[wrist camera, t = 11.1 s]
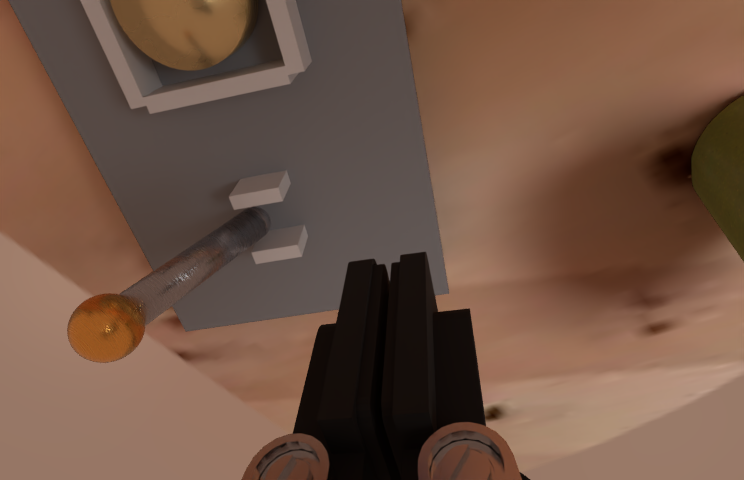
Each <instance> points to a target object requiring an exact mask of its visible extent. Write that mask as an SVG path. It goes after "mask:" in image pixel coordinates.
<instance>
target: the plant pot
mask: <svg viewBox="0 0 744 480" xmlns="http://www.w3.org/2000/svg"><path fill="white" fill-rule="evenodd" d="M691 163H692V184H693V187H694V190H695V191H696V193H697V194H698V196H699V197H700V199H701V200H702V202H703V203H704V205H705V206H706V208H707V209H708V211H709V212H710V214H711V215H712V217H713V218H714V220H715V221H716V222H717V224H718V225H719V227H720V228H721V230H722V231H723V232H724V234H725V235H726V237H727V238H728V240H729V241H730V242H731V244H732V245H733V247H734V248H735V250H736V251H737V253H738V254H739V256H740V257H741V259H742V260H743V261H744V95H743V96H741V97H740V98H738V99H737V100H735V101H734V102H732V103H731V104H730V105H728V106H727V107H726V108H725V109H724V110H722V111H721V112H720V113H719V114H718V115H717V116H716V117H715V118H714V119H713V120H712V121H711V122H710V123H709V125H708V126H707V127H706V128H705V130H704V132H703V133H702V135H701V136H700V138H699V140H698V141H697V143H696V146H695V148H694V151H693V154H692V158H691Z"/></svg>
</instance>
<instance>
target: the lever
mask: <svg viewBox="0 0 744 480" xmlns="http://www.w3.org/2000/svg"><path fill="white" fill-rule="evenodd" d="M270 228H271V218H270V216H269V214H268V213H267V212H266V211H265V210H264V209H262V208H259V207H250V208H247V209H245V210H244V211H242V212H241V213H239V214H238V215H236V216H235V217H233V218H232V219H230V220H229V221H227V222H226V223H224V224H223V225H221V226H220V227H218V228H217V229H215V230H214V231H212V232H211V233H209V234H208V235H206V236H205V237H204V238H202V239H201V240H199V241H198V242H196V243H195V244H193V245H192V246H190V247H189V248H187V249H186V250H184V251H183V252H181V253H180V254H178V255H177V256H175V257H174V258H172V259H171V260H169V261H168V262H166V263H165V264H163V265H162V266H160V267H159V268H157V269H156V270H154V271H153V272H151V273H150V274H148V275H147V276H145V277H144V278H143V279H141V280H140V281H138V282H137V283H135V284H134V285H132V286H131V287H129V288H128V289H126V290H125V291H123V292H122V293H120V294H111V293H109V294H100V295H97V296H94V297H91V298H89V299H88V300H86V301H84V302H83V303H82V304H81V305H79V306H78V307H77V308H76V310H75V311H74V312H73V314H72V315H71V318H70V320H69V323H68V329H67V331H68V339H69V342H70V344H71V346H72V348H73V349H74V350H75V351H76V352H77V353H78V354H79V355H80V356H82V357H83V358H85V359H87V360H90V361H93V362H100V363H106V362H112V361H116V360H119V359H122V358H124V357H126V356H127V355H129V354H130V353H131V352H132V351H133V350H134V349H135V348H136V347H137V346H138V345H139V343H140V342H141V340H142V338H143V335H144V331H145V326H146V325H147V324H148V323H150V322H151V321H152V320H154V319H155V318H156V317H158V316H159V315H160V314H162V313H163V312H164V311H166V310H167V309H168V308H170V307H171V306H172V305H174V304H175V303H176V302H178V301H179V300H180V299H182V298H183V297H184V296H186V295H187V294H188V293H190V292H191V291H192V290H194V289H195V288H196V287H198V286H199V285H200V284H202V283H203V282H204V281H206V280H207V279H208V278H210V277H211V276H212V275H214V274H215V273H216V272H218V271H219V270H220V269H222V268H223V267H224V266H226V265H227V264H228V263H230V262H231V261H232V260H234V259H235V258H236V257H238V256H239V255H240V254H242V253H243V252H244V251H246V250H247V249H248V248H250V247H251V246H252V245H254V244H255V243H256V242H257V241H259V240H260V239H261V238H263V237H264V236H265V235H266V234H267V233H268V232H269V230H270Z"/></svg>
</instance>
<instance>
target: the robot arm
mask: <svg viewBox="0 0 744 480" xmlns="http://www.w3.org/2000/svg"><path fill="white" fill-rule="evenodd" d="M242 480H530V479H528V478H527V477H526V476H524V475H523V474H522V473H521V472H519V469H518V467H517V464H516V461H515V458H514V455H513V453H512V451H511V449H510V448H509V446H508V444H507V442H506V441H505V440H504V439H503V438H502V437H501V436H500V435H499V434H498V433H497V432H496V431H494V430H492V429H490V428H488V427H486V422H485V415H484V407H483V400H482V393H481V385H480V378H479V371H478V363H477V356H476V349H475V342H474V335H473V328H472V321H471V314H470V309H461V310H452V311H443V312H438V309H437V304H436V299H435V294H434V289H433V283H432V278H431V273H430V268H429V263H428V258H427V254H426V252H418V253H411V254H403V255H400V262H394V263H391V274H390V280H389V276H388V272H387V269H386V266H385V264H379V265H377V263H376V261H375V259H366V260H359V261H351V262H349V263H348V267H347V272H346V277H345V282H344V287H343V292H342V297H341V302H340V307H339V312H338V317H337V322H336V323H335V324H326V325H321V326H320V327H319V329H318V332H317V335H316V339H315V343H314V348H313V352H312V356H311V360H310V364H309V368H308V373H307V377H306V381H305V385H304V389H303V393H302V397H301V402H300V406H299V410H298V414H297V418H296V422H295V427H294V431H293V434H288V435H285V436H282V437H279V438H276V439H275V440H273V441H272V442H270V443H268V444H267V445H265V446H264V447H263V448H262V449H261V450H260V451H259V452H258V453H257V454H256V455H255V456H254V457H253V459H252V461H251V462H250V464H249V465H248V467H247V469H246V471H245V473H244V475H243V477H242Z"/></svg>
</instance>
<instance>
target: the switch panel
mask: <svg viewBox="0 0 744 480" xmlns="http://www.w3.org/2000/svg"><path fill="white" fill-rule="evenodd" d="M8 1H9V3H10V5H11V7H12V8H13V10H14V12H15V14H16V16H17V18H18V20H19V21H20V23H21V25H22V27H23V29H24V31H25V33H26V35H27V36H28V38H29V40H30V42H31V44H32V46H33V48H34V49H35V51H36V53H37V55H38V57H39V59H40V61H41V62H42V64H43V66H44V68H45V70H46V72H47V74H48V76H49V77H50V79H51V81H52V83H53V85H54V87H55V89H56V90H57V92H58V94H59V96H60V98H61V100H62V102H63V103H64V105H65V107H66V109H67V111H68V113H69V115H70V117H71V118H72V120H73V122H74V124H75V126H76V128H77V130H78V131H79V133H80V135H81V137H82V139H83V141H84V143H85V144H86V146H87V148H88V150H89V152H90V154H91V156H92V158H93V159H94V161H95V163H96V165H97V167H98V169H99V171H100V172H101V174H102V176H103V178H104V180H105V182H106V184H107V185H108V187H109V189H110V191H111V193H112V195H113V197H114V199H115V200H116V202H117V204H118V206H119V208H120V210H121V212H122V213H123V215H124V217H125V219H126V221H127V223H128V225H129V227H130V228H131V230H132V232H133V234H134V236H135V238H136V240H137V241H138V243H139V245H140V247H141V249H142V251H143V253H144V254H145V256H146V258H147V260H148V262H149V264H150V266H151V268H152V269H153V271H154V270H156V269H157V268H159V267H160V266H162V265H163V264H165V263H166V262H168V261H169V260H171V259H172V258H174V257H175V256H177V255H178V254H180V253H181V252H183V251H184V250H186V249H187V248H189V247H190V246H192V245H193V244H195V243H196V242H198V241H199V240H201V239H202V238H204V237H205V236H206V235H208V234H209V233H211V232H212V231H214V230H215V229H217V228H218V227H220V226H221V225H223V224H224V223H226V222H227V221H229V220H230V219H232V218H233V217H235V216H236V215H238V214H239V213H241V212H242V211H244V210H245V209H247V208H250V207H259V208H262V209H264V210H265V211H266V212H267V213H268V214H269V216H270V218H271V228H270V230H269V232H268V233H267V234H266V235H265V236H264V237H263V238H261V239H260V240H259V241H257V242H256V243H255V244H254V245H252V246H251V247H250V248H248V249H247V250H246V251H244V252H243V253H242V254H240V255H239V256H238V257H236V258H235V259H234V260H232V261H231V262H230V263H228V264H227V265H226V266H224V267H223V268H222V269H220V270H219V271H218V272H216V273H215V274H214V275H212V276H211V277H210V278H208V279H207V280H206V281H204V282H203V283H202V284H200V285H199V286H198V287H196V288H195V289H194V290H192V291H191V292H190V293H188V294H187V295H186V296H184V297H183V298H182V299H180V300H179V301H178V302H176V303H175V304H174V305H172V307H173V309H174V310H175V312H176V314H177V316H178V318H179V320H180V322H181V323H182V325H183V327H184V329H185V331H193V330H200V329H207V328H214V327H221V326H227V325H234V324H241V323H248V322H255V321H262V320H269V319H276V318H283V317H290V316H297V315H304V314H310V313H317V312H324V311H331V310H338V309H339V307H340V302H341V297H342V292H343V287H344V282H345V277H346V272H347V267H348V263H349V262H351V261H359V260H366V259H375V261H376V263H377V265H379V264H385V266H386V269H387V272H388V276H389V280H390V274H391V263H394V262H400V255H403V254H411V253H418V252H426V254H427V258H428V263H429V268H430V273H431V278H432V283H433V289H434V294H435V295H442V294H449V289H448V283H447V276H446V270H445V264H444V258H443V252H442V246H441V240H440V234H439V228H438V222H437V215H436V209H435V203H434V197H433V191H432V185H431V179H430V173H429V167H428V161H427V155H426V149H425V143H424V136H423V130H422V124H421V118H420V112H419V106H418V100H417V94H416V88H415V82H414V76H413V70H412V63H411V57H410V51H409V45H408V39H407V33H406V27H405V21H404V15H403V9H402V3H401V0H258V14H257V20H256V24H255V26H254V29H253V32H252V33H251V35H250V37H249V39H248V40H247V41H246V43H245V44H244V45H243V46H242V47H241V48H240V49H239V50H238V51H236V52H235V53H233V54H232V55H230V56H229V57H227V58H226V59H224V60H222V61H221V62H219V63H218V64H216V65H214V66H212V67H209V68H206V69H202V70H189V71H187V70H179V69H175V68H171V67H168V66H166V65H163V64H161V63H159V62H157V61H155V60H154V59H152V58H151V57H149V56H148V55H146V54H145V53H144V52H143V51H141V50H140V49H139V48H138V47H137V46H136V45H135V44H134V43H133V42H132V41H131V39H130V38H129V37H128V36H127V34H126V33H125V32H124V30H123V28H122V27H121V25H120V24H119V22H118V20H117V18H116V16H115V13H114V11H113V8H112V5H111V1H110V0H8Z"/></svg>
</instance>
